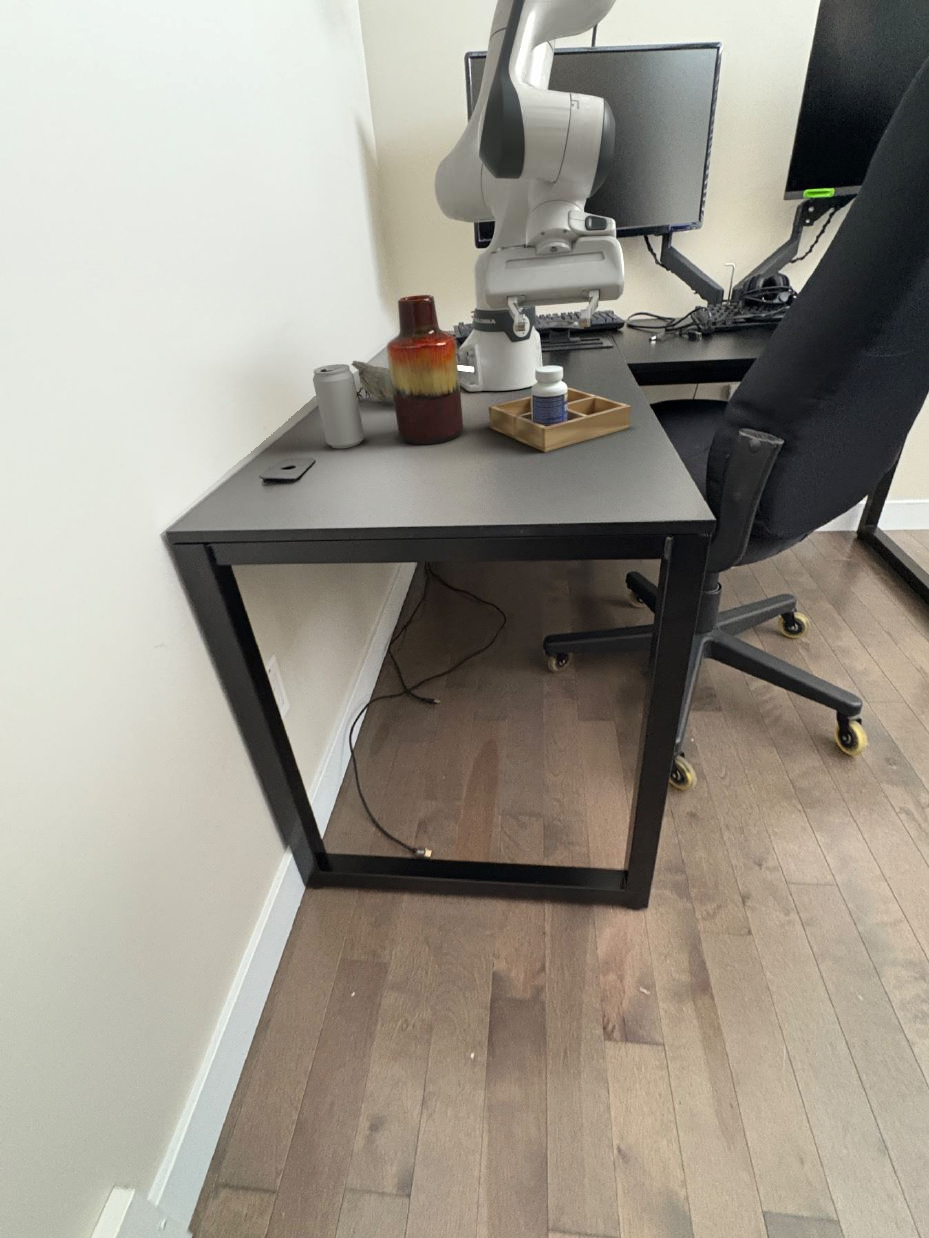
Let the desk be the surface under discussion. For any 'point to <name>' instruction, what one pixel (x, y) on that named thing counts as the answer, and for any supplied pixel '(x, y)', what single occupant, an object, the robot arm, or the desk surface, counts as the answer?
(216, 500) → the desk surface
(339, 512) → the desk surface
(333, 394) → the beverage can
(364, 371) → the decorative bird
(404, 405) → the vase
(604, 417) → the wooden compartment tray
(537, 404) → the pill bottle
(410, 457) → the desk surface
